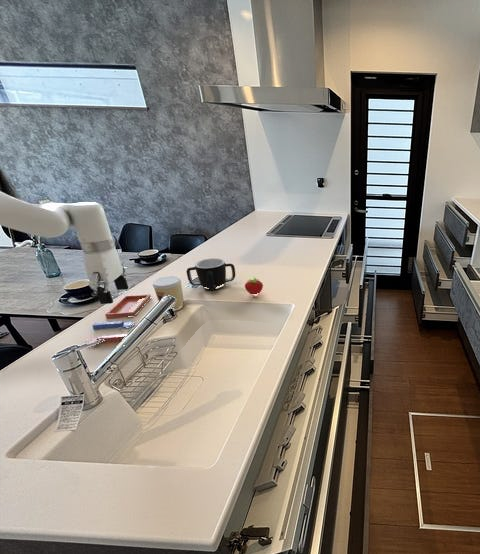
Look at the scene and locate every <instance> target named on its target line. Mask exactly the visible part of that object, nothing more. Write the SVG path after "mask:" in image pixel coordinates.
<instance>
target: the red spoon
mask: <svg viewBox="0 0 480 554" xmlns="http://www.w3.org/2000/svg"><path fill="white" fill-rule="evenodd" d="M127 334H128V333H123V334H112V335H111V334H110V335H101V336H100V335H98V336H97V337H91V338H88V339H87V340H85V342H84V343H85V344H86V343H89V342H92V341H96V340H99V339H104V340H105V341H103V342H102V343H101V344H106V343H119V342H122V341H121V340H122V339H123V338H124V337H125V336H127Z"/></svg>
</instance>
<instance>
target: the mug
mask: <svg viewBox="0 0 480 554" xmlns="http://www.w3.org/2000/svg"><path fill="white" fill-rule="evenodd" d="M228 267H230V268H231V277H230V278H227V269H226V268H228ZM191 271H195V273H196V276H197V278H198V281H197V282H196V281H195V280H193V278H192V274H191V273H192V272H191ZM186 276H187V280H188V282H189V283H190V284H191V285H192V286H196V287H197V286H201V287H202V286H203V287H207V288H209V289H210V290H209V291H215V290H214V289H215V288H216V287H217V286H220V285H222V284H224V283H225V284H226V283H230V282H233V281H234V280H235V279H236V267H235V265H234V264H233V263H226V261H225V260H224V259H222V258H205V259H202V260H199V261H197V262H195V264H194V266H192V267H188V268H187V269H186ZM229 281H230V282H229ZM203 287H202V288H203Z"/></svg>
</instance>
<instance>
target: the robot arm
mask: <svg viewBox="0 0 480 554" xmlns="http://www.w3.org/2000/svg"><path fill="white" fill-rule="evenodd" d="M0 226H2V227H5V228H8V229H11V230H14V231H18V232H21V233H25V234H28V235H32V236H35V237H40V238H49V239H50V238H51V239H52V238H58V237H62V236H63V235H64V234H65V233H67V231H68V230H69V229H70V228H73V229H74V231H75V233H76V236H77V239H78V242H79V245H80V247H81V250H82V255H83V262H84V268H85V272H86V275H87V278H88V281H89V282H88V286H89V287H90V288H91V291H93V292H94V293H95V294H96V296H97V298H98V301H99V303H100V304H101V305H108V304H113V303H114V299H113V297H112V294H111V291H110V290H109V284H112V282H114V286H115V287H116V290H117V291H122V290H123V291H124V290H128V289H129V284H128V281H127V278H126V273H125V271H126V269H125V262H124V261H121V259H120V258H121V257H120V255H119V253H118V251H117V249H116V247H117V246H116V244H115V242H114V238H113V235H112V231H111V228H110V225H109V222H108V219H107V215H106V213H105V210H104V206H103V205H102V204H101V203H99V202H94V201H85V202H82V201H81V202H76V203H61V202H44V203H41V204H39V205H36V204H34V203H30V202H28V201H27V202H26V201H24V200H23V199H19V198H16V197H13V196H11V195H10V194H7V193H5V192H3V191H1V190H0ZM102 286H103V287H102Z"/></svg>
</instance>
